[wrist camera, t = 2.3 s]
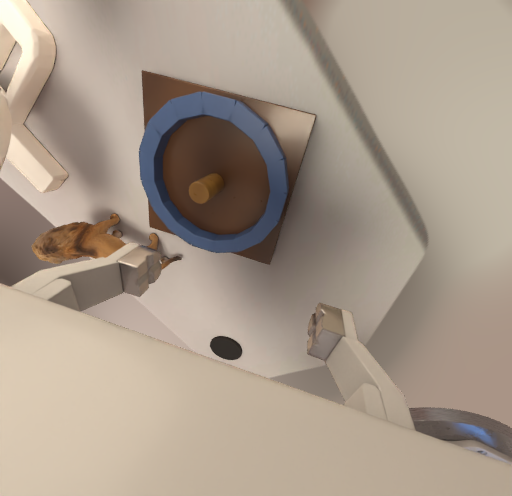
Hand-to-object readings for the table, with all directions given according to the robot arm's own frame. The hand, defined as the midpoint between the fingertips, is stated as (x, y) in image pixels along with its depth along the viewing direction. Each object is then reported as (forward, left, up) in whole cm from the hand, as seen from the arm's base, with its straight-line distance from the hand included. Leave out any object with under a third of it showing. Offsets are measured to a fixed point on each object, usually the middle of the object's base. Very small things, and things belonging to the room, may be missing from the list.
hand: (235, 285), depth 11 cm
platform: (+7, 0, -16) cm, 17 cm away
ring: (+7, 0, -14) cm, 15 cm away
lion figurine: (+19, +12, -16) cm, 27 cm away
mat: (+2, +30, -16) cm, 34 cm away
